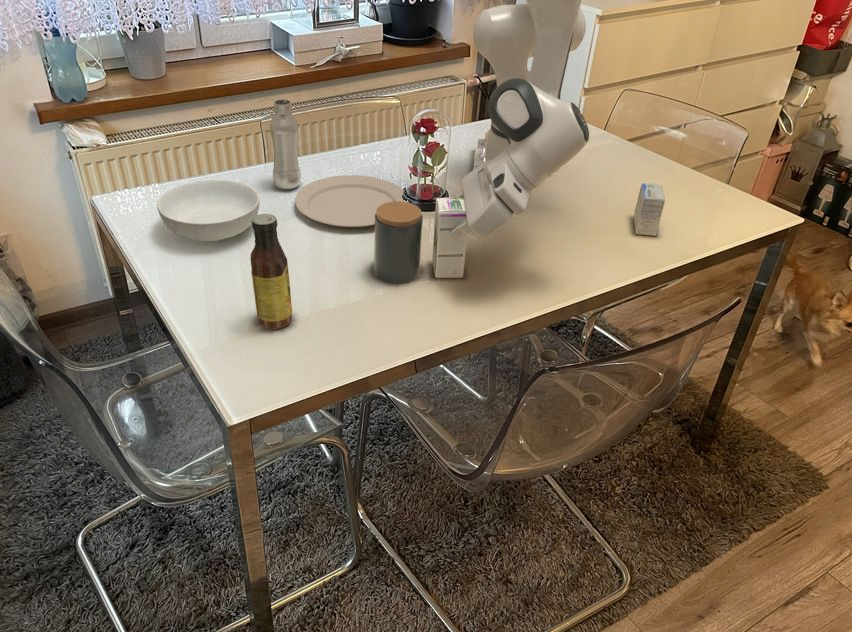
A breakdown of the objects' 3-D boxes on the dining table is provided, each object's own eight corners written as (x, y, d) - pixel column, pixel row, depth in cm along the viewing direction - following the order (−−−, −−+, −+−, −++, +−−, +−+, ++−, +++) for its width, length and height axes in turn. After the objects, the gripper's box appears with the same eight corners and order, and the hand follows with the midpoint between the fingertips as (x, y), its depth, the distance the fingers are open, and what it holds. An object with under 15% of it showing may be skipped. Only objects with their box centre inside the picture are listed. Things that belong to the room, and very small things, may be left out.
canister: (372, 259, 148) (373, 200, 140) (417, 259, 148) (420, 200, 140) (375, 283, 141) (376, 223, 133) (421, 283, 141) (425, 222, 133)
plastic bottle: (267, 185, 174) (261, 101, 162) (291, 178, 177) (286, 95, 165) (283, 195, 170) (278, 109, 158) (307, 187, 174) (303, 102, 162)
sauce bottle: (299, 323, 130) (292, 222, 117) (267, 335, 127) (258, 232, 115) (281, 306, 134) (273, 207, 122) (250, 316, 131) (239, 216, 119)
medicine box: (655, 237, 158) (666, 200, 153) (634, 234, 159) (644, 197, 153) (652, 220, 164) (662, 184, 159) (632, 218, 165) (641, 182, 160)
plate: (332, 174, 180) (332, 166, 178) (427, 198, 170) (427, 190, 169) (273, 216, 161) (272, 208, 160) (375, 245, 152) (375, 236, 151)
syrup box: (463, 278, 143) (470, 210, 134) (433, 278, 143) (438, 210, 134) (459, 263, 147) (466, 196, 139) (430, 263, 147) (435, 196, 138)
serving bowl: (256, 203, 166) (254, 175, 162) (267, 248, 150) (264, 218, 146) (162, 211, 162) (156, 182, 158) (162, 259, 146) (156, 228, 142)
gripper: (492, 142, 140) (438, 188, 146) (503, 190, 124) (441, 239, 130) (513, 165, 143) (458, 209, 149) (526, 215, 126) (464, 261, 132)
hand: (450, 223), depth 139 cm, fingers open, 8 cm apart
